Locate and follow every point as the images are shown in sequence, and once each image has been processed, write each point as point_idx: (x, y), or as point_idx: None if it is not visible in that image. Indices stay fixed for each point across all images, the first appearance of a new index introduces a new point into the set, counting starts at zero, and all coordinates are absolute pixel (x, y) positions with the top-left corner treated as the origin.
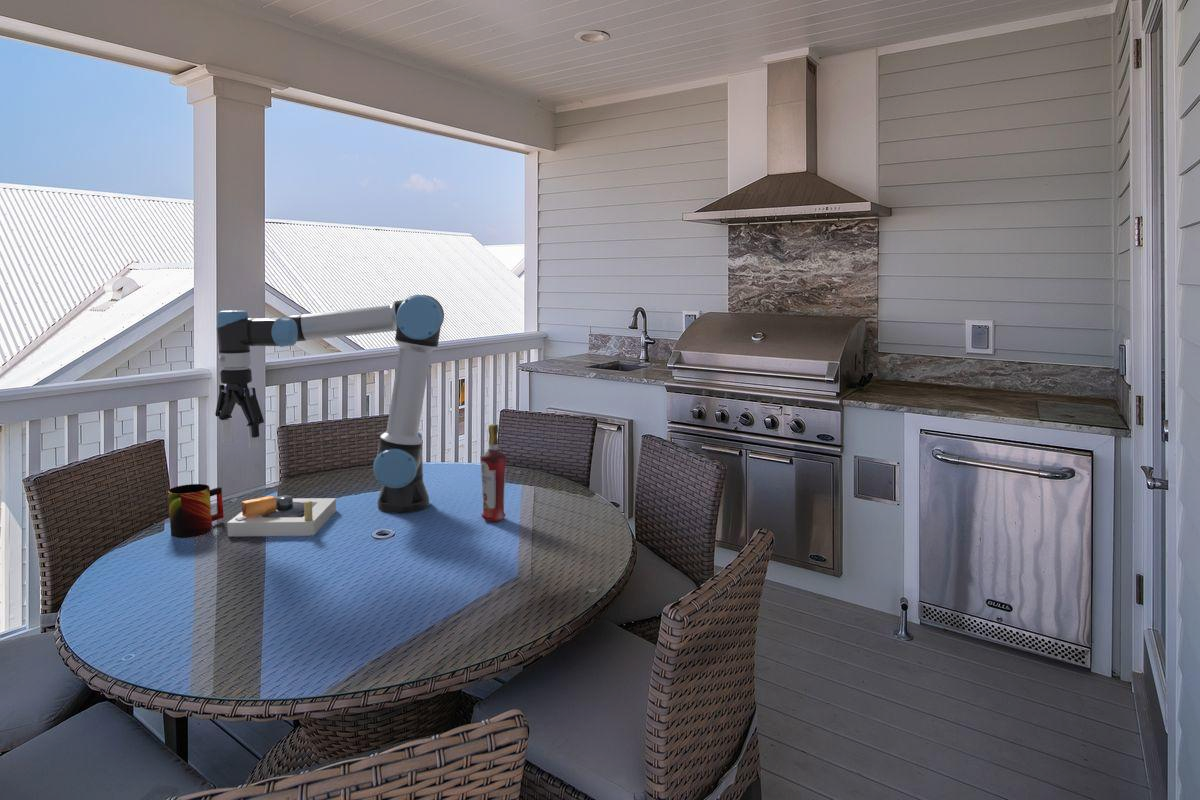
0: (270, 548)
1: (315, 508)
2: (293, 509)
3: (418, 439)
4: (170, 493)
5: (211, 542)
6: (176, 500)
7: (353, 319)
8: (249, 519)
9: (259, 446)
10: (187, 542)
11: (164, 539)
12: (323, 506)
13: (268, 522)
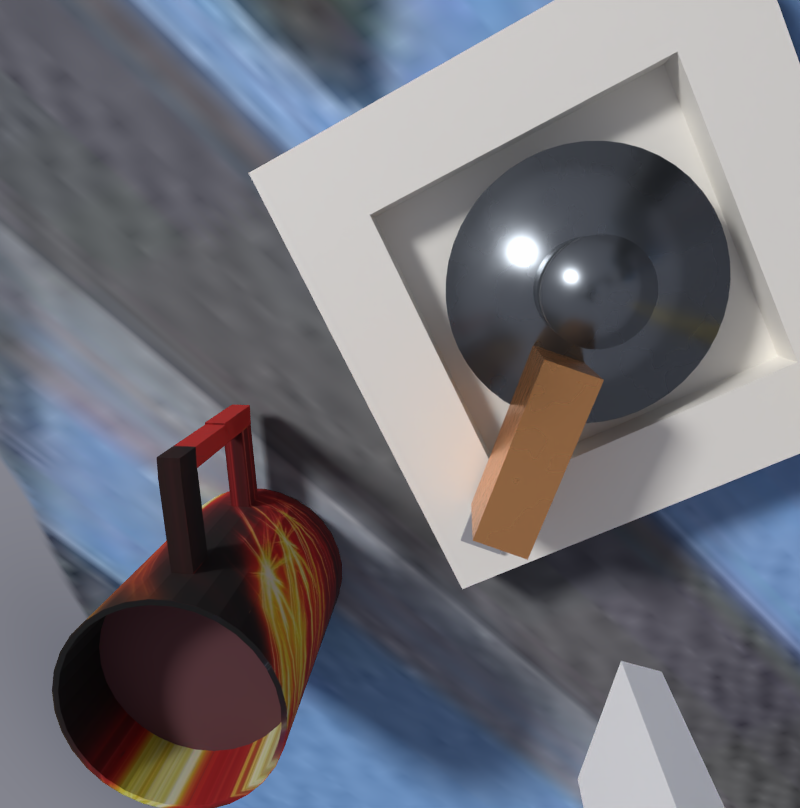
0: (774, 601)
1: (758, 180)
2: (662, 290)
3: None
4: (160, 805)
5: (458, 633)
6: (220, 776)
7: None
8: None
9: (666, 694)
10: (363, 667)
11: None
12: (782, 117)
13: (666, 506)
